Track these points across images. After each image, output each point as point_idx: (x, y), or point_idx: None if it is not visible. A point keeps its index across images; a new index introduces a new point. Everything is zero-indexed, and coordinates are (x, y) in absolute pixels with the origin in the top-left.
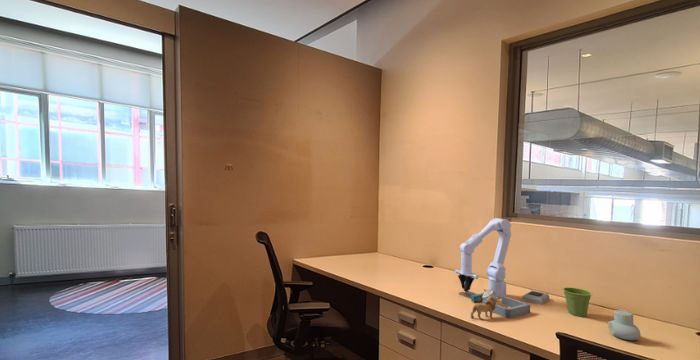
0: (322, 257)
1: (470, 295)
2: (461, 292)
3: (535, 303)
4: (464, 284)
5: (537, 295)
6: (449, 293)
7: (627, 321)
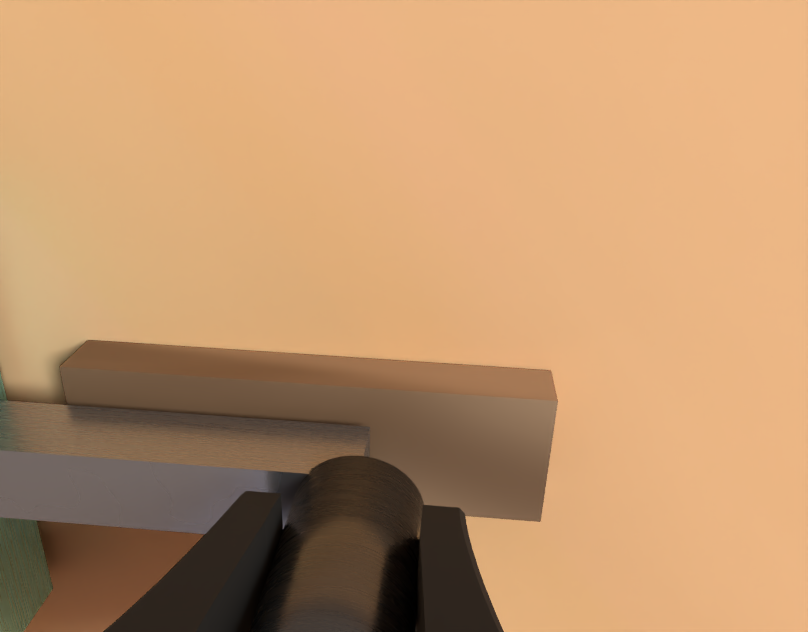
0: None
1: None
2: (510, 446)
3: None
4: (329, 618)
5: None
6: (773, 210)
7: None
